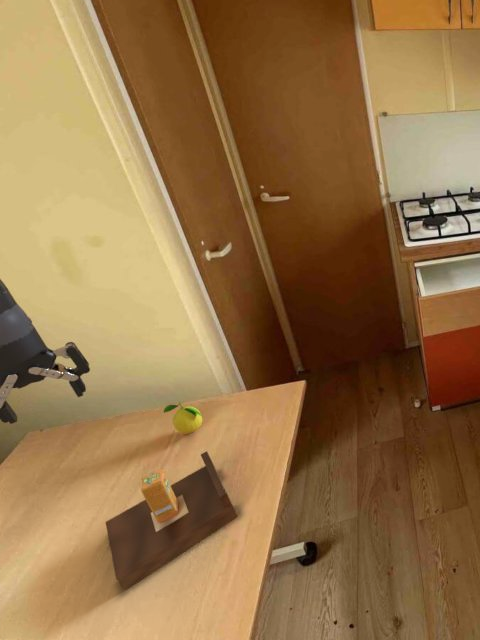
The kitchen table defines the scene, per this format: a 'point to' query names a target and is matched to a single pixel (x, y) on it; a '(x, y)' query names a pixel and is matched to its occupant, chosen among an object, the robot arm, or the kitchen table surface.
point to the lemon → (185, 418)
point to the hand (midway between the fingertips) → (48, 406)
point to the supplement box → (159, 496)
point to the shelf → (168, 526)
